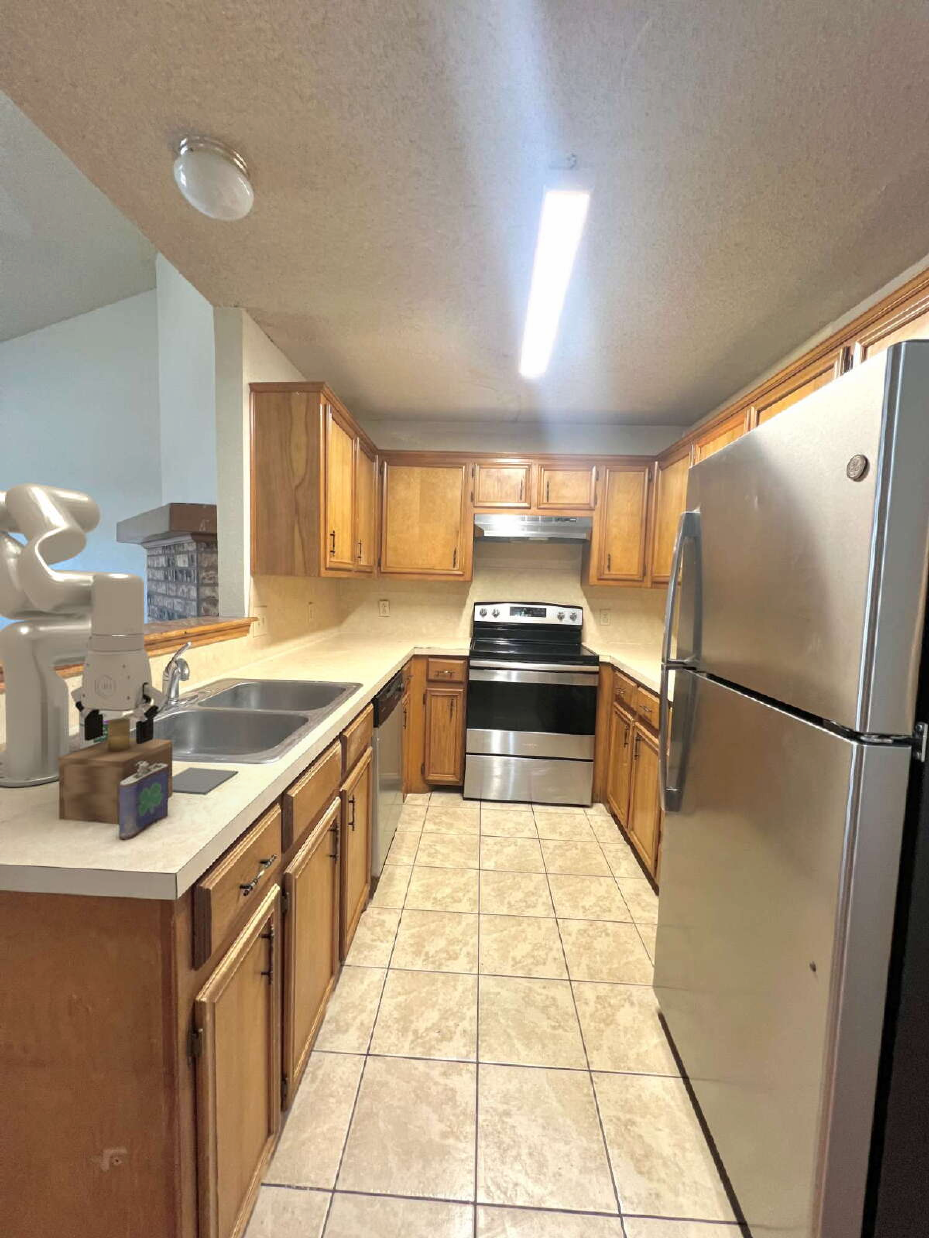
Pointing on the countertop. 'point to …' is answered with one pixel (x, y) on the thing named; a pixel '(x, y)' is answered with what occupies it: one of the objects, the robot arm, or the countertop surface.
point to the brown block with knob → (105, 773)
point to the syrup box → (106, 717)
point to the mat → (200, 780)
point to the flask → (143, 799)
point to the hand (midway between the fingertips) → (119, 740)
